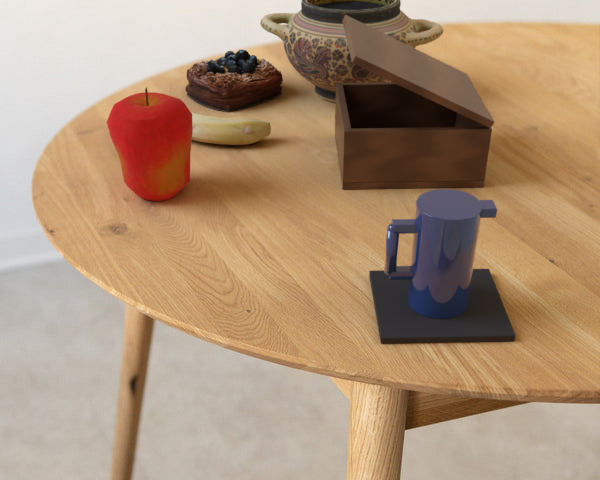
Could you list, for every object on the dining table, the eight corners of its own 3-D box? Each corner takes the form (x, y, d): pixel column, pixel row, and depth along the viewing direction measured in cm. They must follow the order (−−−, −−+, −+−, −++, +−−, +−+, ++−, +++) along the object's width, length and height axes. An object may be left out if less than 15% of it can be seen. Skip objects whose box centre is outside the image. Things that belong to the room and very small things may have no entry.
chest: (342, 189, 86) (344, 131, 82) (334, 135, 98) (335, 82, 94) (483, 187, 86) (492, 129, 82) (458, 133, 98) (465, 80, 94)
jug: (473, 283, 70) (488, 188, 64) (486, 318, 65) (503, 219, 60) (379, 285, 70) (385, 189, 64) (385, 320, 65) (392, 221, 60)
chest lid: (351, 63, 78) (355, 55, 77) (342, 20, 90) (345, 14, 89) (490, 128, 82) (494, 121, 82) (463, 80, 94) (467, 74, 94)
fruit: (238, 161, 92) (236, 134, 90) (144, 131, 99) (141, 106, 97) (274, 140, 97) (273, 115, 95) (182, 114, 104) (180, 89, 102)
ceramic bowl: (439, 101, 114) (451, -9, 109) (429, 116, 98) (442, -12, 92) (277, 88, 119) (281, -18, 114) (242, 101, 103) (244, -22, 97)
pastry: (176, 95, 109) (172, 53, 106) (241, 74, 116) (239, 34, 113) (227, 116, 103) (224, 72, 99) (292, 93, 110) (292, 51, 106)
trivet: (488, 273, 72) (488, 268, 72) (514, 341, 64) (516, 335, 64) (369, 275, 72) (369, 270, 72) (380, 343, 64) (381, 337, 63)
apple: (211, 181, 88) (203, 78, 81) (174, 215, 81) (162, 106, 74) (145, 168, 90) (131, 68, 83) (104, 201, 84) (86, 94, 77)
